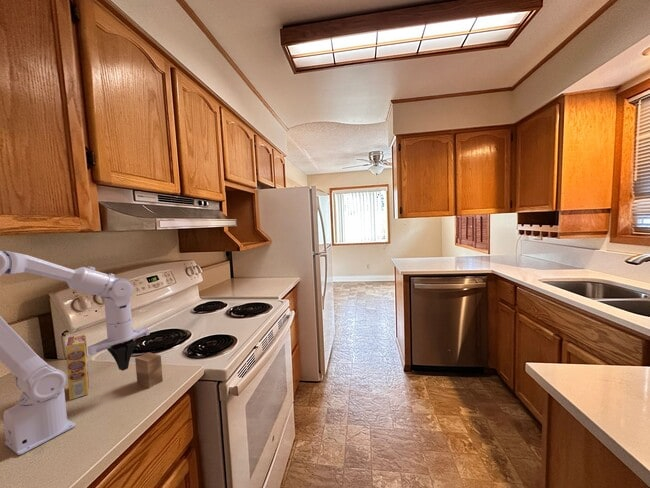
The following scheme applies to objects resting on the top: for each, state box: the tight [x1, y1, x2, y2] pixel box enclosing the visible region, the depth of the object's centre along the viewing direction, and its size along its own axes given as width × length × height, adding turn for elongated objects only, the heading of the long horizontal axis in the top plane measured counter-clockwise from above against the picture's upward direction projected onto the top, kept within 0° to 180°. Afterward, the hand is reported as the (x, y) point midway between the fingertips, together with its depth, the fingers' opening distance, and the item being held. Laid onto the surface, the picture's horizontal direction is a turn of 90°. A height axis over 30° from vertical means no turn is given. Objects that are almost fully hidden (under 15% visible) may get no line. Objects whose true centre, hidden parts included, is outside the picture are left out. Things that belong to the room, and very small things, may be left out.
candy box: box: [65, 333, 90, 400], centre depth 80 cm, size 9×4×15 cm, turn 39°
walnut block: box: [134, 352, 164, 389], centre depth 84 cm, size 4×6×8 cm, turn 63°
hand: (123, 368), depth 77 cm, fingers closed
